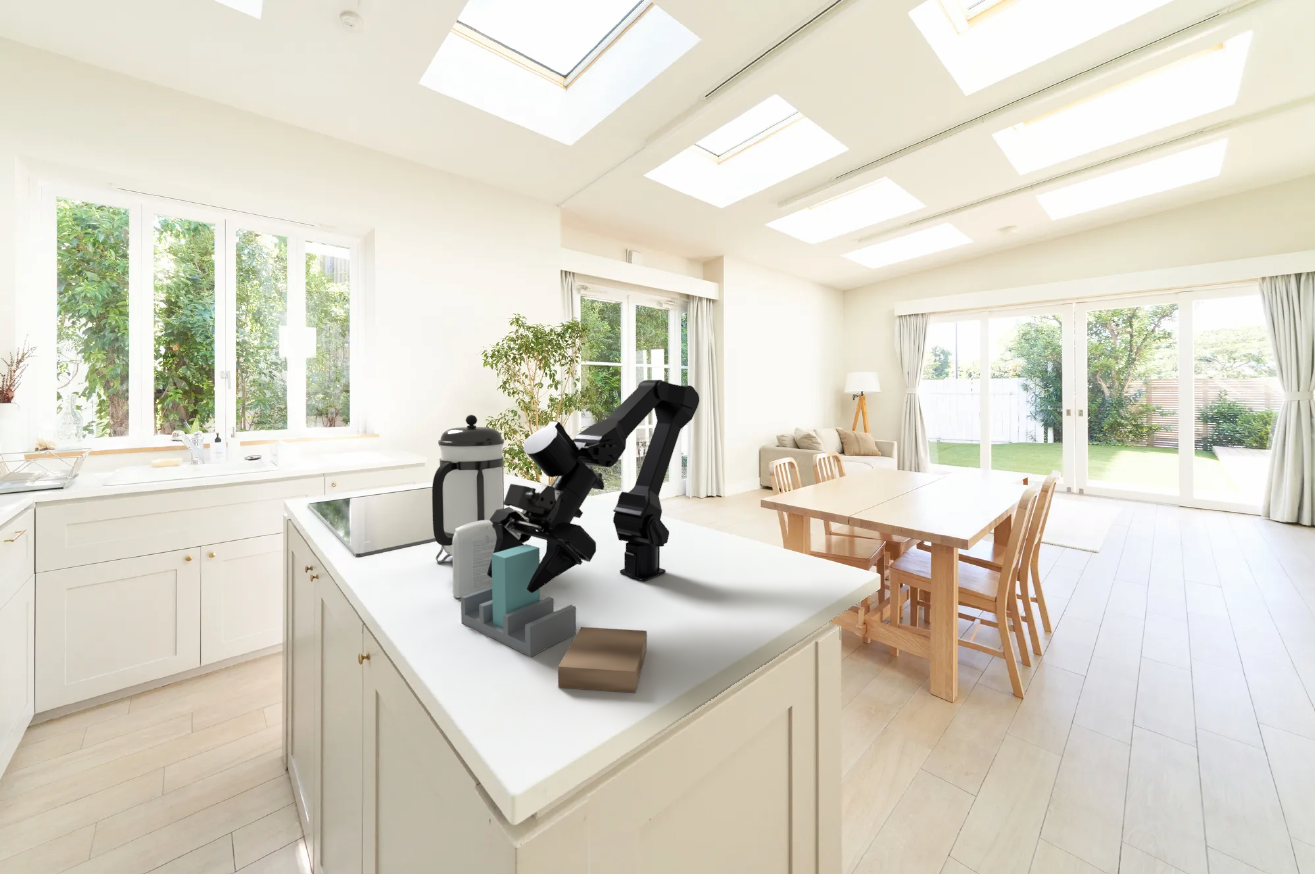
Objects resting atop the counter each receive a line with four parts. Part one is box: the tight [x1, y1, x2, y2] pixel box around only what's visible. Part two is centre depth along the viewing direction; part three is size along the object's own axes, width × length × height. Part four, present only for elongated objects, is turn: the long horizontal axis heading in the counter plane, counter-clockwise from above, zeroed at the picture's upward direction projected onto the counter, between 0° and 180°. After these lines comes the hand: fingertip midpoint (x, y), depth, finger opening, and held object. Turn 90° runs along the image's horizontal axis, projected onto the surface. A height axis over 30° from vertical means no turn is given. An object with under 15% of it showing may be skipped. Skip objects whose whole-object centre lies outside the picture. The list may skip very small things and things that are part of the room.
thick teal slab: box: [492, 543, 541, 627], centre depth 71 cm, size 6×3×10 cm, turn 143°
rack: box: [460, 586, 577, 658], centre depth 71 cm, size 8×16×4 cm, turn 53°
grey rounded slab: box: [452, 520, 497, 599], centre depth 85 cm, size 10×4×12 cm, turn 123°
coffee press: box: [431, 414, 505, 564], centre depth 101 cm, size 17×16×30 cm
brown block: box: [557, 626, 648, 694], centre depth 61 cm, size 10×9×2 cm
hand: (508, 583), depth 70 cm, fingers open, 9 cm apart
